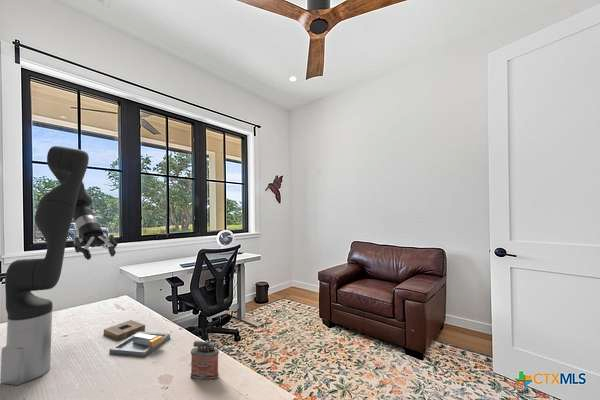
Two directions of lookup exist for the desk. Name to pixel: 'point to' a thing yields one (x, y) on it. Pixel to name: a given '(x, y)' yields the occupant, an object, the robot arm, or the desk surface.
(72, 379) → the desk surface
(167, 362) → the desk surface
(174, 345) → the desk surface
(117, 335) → the socket plate
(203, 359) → the lighter
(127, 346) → the tray
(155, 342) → the key
